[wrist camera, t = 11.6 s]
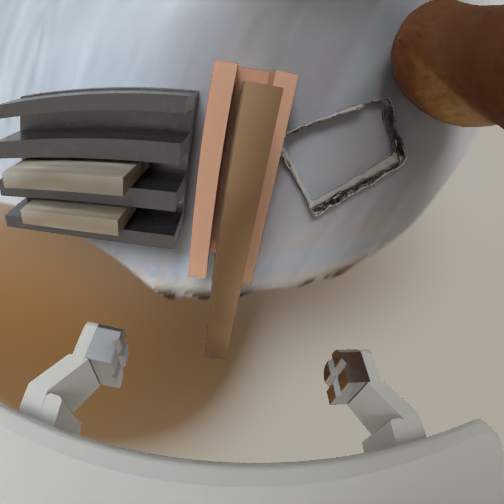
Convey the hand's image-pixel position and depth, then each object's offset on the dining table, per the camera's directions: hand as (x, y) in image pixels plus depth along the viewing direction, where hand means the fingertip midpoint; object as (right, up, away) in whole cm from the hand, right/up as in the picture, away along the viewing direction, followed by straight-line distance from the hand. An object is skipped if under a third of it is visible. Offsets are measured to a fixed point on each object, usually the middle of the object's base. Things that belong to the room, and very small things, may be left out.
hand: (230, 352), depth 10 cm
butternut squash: (+20, +26, +12) cm, 35 cm away
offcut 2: (-17, +10, +19) cm, 28 cm away
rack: (-17, +15, +18) cm, 29 cm away
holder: (-1, +13, +20) cm, 24 cm away
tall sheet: (-1, +12, +18) cm, 22 cm away
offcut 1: (-17, +14, +16) cm, 27 cm away
